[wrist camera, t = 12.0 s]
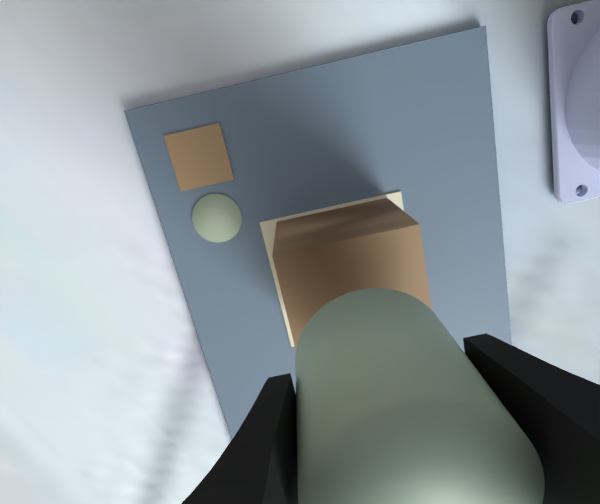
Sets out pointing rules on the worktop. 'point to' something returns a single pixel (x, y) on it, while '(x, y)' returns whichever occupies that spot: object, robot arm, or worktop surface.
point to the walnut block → (347, 257)
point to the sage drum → (401, 412)
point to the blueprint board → (326, 191)
